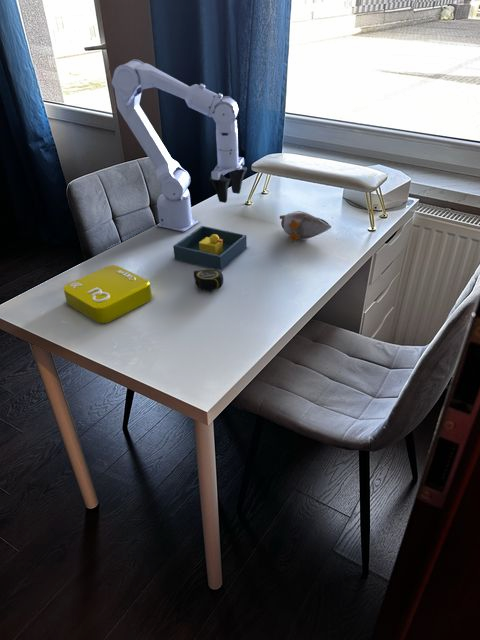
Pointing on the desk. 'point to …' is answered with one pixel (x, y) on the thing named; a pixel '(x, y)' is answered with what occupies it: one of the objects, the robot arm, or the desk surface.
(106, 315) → the element tile
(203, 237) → the blue square tray
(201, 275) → the tape measure
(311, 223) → the decorative duck model
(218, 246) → the rubber duck
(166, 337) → the desk surface
